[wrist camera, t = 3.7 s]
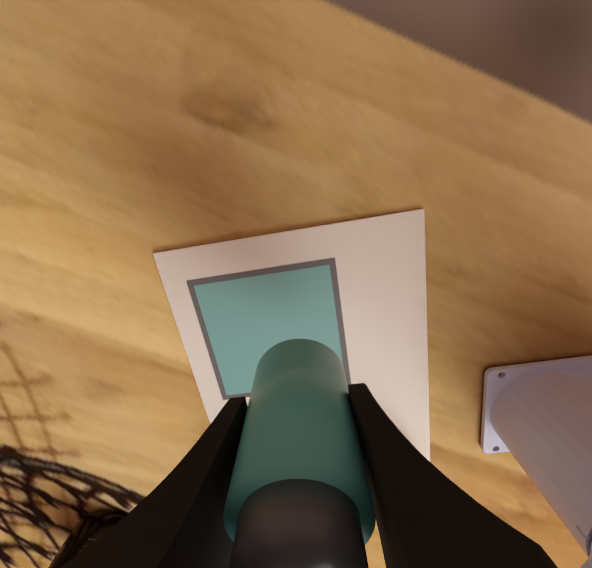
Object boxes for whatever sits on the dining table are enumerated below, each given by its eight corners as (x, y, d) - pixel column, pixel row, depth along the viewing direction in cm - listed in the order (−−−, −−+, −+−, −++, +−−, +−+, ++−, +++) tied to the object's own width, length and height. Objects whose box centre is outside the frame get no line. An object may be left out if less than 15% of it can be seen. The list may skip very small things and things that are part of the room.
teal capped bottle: (341, 334, 13) (385, 513, 6) (348, 408, 14) (390, 624, 7) (248, 343, 13) (191, 527, 6) (263, 416, 14) (230, 631, 8)
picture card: (422, 208, 18) (424, 209, 18) (429, 487, 26) (431, 491, 26) (154, 252, 20) (152, 253, 19) (239, 505, 28) (238, 509, 27)
